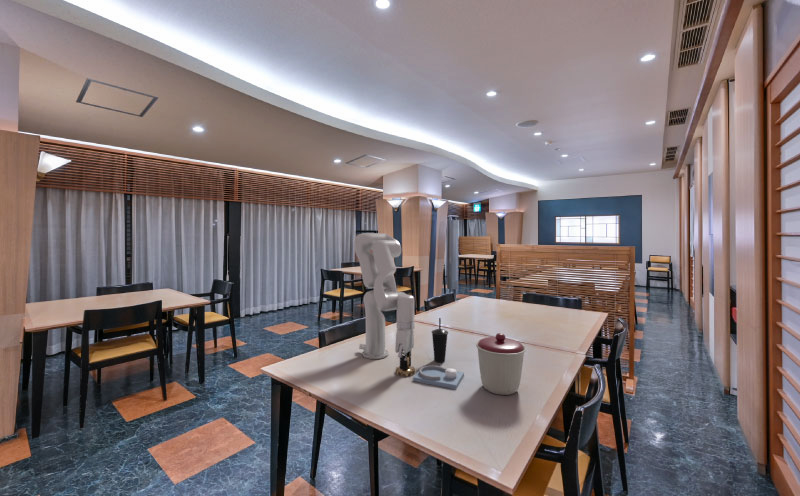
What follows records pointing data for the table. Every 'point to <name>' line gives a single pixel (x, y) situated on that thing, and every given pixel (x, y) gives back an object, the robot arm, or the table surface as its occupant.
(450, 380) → the carrier plate
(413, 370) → the bronze gear
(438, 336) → the drinking cup
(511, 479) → the table surface
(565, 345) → the table surface
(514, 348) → the canister
